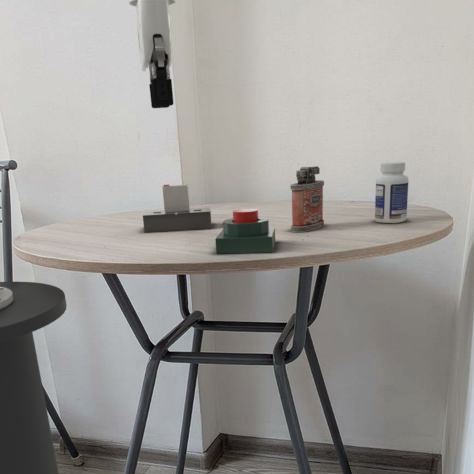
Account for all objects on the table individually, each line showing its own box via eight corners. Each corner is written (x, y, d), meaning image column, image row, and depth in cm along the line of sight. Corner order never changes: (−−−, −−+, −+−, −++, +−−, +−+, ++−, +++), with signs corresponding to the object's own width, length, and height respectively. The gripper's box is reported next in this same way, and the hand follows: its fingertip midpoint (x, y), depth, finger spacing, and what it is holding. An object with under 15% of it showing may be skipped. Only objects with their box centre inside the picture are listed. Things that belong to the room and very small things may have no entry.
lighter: (304, 232, 95) (303, 168, 92) (286, 231, 97) (285, 168, 94) (328, 224, 101) (328, 164, 98) (311, 223, 103) (311, 164, 100)
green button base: (216, 254, 83) (214, 225, 81) (223, 243, 90) (222, 217, 89) (272, 252, 82) (271, 223, 80) (275, 241, 89) (274, 215, 88)
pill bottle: (409, 219, 103) (412, 161, 99) (403, 223, 98) (406, 163, 95) (378, 218, 105) (380, 162, 102) (371, 223, 101) (373, 164, 97)
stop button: (232, 225, 83) (231, 212, 82) (234, 221, 86) (234, 209, 86) (257, 224, 83) (256, 211, 82) (259, 220, 86) (258, 208, 85)
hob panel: (211, 229, 103) (210, 211, 102) (143, 233, 103) (141, 215, 101) (211, 222, 111) (210, 205, 110) (148, 226, 111) (146, 209, 110)
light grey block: (189, 209, 107) (187, 182, 105) (189, 210, 105) (187, 183, 103) (165, 211, 106) (162, 184, 105) (164, 212, 105) (162, 185, 103)
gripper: (127, 4, 102) (139, 109, 108) (128, -20, 86) (141, 106, 92) (170, 2, 103) (179, 107, 109) (178, -21, 87) (188, 103, 93)
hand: (162, 106), depth 101 cm, fingers open, 9 cm apart
